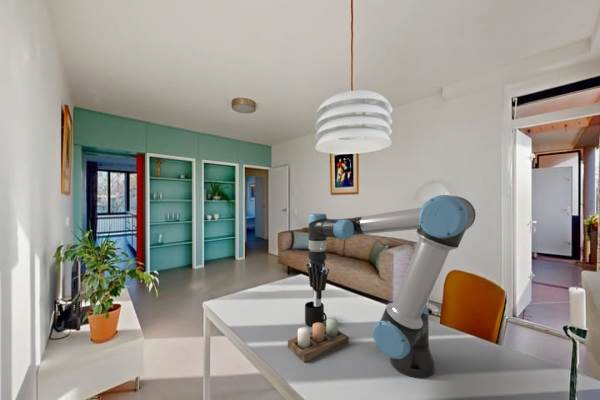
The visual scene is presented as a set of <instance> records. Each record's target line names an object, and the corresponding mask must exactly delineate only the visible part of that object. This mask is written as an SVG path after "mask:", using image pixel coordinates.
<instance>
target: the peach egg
mask: <svg viewBox="0 0 600 400" xmlns="http://www.w3.org/2000/svg"><path fill="white" fill-rule="evenodd" d="M324 327H325V323H324V324H323V323H314V324H313V327H312V332H313V341H314V342H315V343H317V344H318V343H321V342H324V340H325V332H324Z"/></svg>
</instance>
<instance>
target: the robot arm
mask: <svg viewBox="0 0 600 400" xmlns="http://www.w3.org/2000/svg"><path fill="white" fill-rule="evenodd" d="M475 221H476V209H475V207H474V206H473V204H472V203H471V202H470V201H469V200H468V199H466V198H464V197H461V196H457V195H450V194H442V195H441V194H440V195H437V196H434V197H432V198H430V199H428V200H426V202H425V203H424V204H422V206H421V207H417V208H416V207H415V208H410V209H402V210H398V211H397V210H396V211H391V212H382V213H378V214H376V213H375V214H369V215H365V216H355V217H348V218H338V219H335V218H327V214H326V213H320V212H319V213H317V212H316V213H315V212H314V213H309V216H308V223H307V224H308V260H309V263H306V267H307V272H308V282H309V287H310V288H312V291H313V294H312V295H313V301H314V306H315V307H318V306H321V303H322V294H323V293H322V291H323V292H324V291H326V288H327V287H326V286H327V280H328V275H329V273H330V269H329V268H327V267H326V260H327V238H331V239H332V238H333V239H339V240H350V239H351V238H352V236H361V235H370V234H380V233H382V234H383V233H392V232H400V231H401V232H403V231H412V230H416V234H417V236H418V241H417V244H416V246H415V249H414V251H413V253H412V256H411V259H410V262H409V264H408V266H407V268H406V271H405V273H404V276H403V277H402V280H401V283H400V286H399V288H398V290H397V292H396V296H395V297H394V299H393V302H389V303H387V305H386V306H385V309H384V312H383V313H382V317H381V318H380V320H379V321H377V322H376V323H375V325H374V326H373V328H372V337H373V340H374V341H375V345H376V347H377V348H378V349H379V350H380V351H381V353H383V354H384V355H385V356H386V357H389V363H390V364H391V366H392V367H393V368H394V370H396V371H398V372H399V373H401V374H403V375H405V376H408V377H412V378H419V379H423V378H424V379H425V378H428V377H431V376H432V375H434V373H435V361H434V358H433V355H432V352H431V349H430V345H429V344H430V339H429V338H430V336H429V331H430V330H429V326H430V325H429V323H430V322H429V316H430V314H429V308H428V306H427V303H428V300H429V298H430V296H431V295H432V294H431V293H432V291H433V289H434V287H435V284H436V282H437V280H438V278H439V276H440V273H441V271H442V269H443V267H444V264H445V262H446V260H447V258H448V255H449V253H450V251H452V250H455V249H458V248H459V245H460V243H461V241H462V240H463V237H464V235H465V232H466V231H467V230H469V228H471V227H472V226H473V225H474V222H475Z"/></svg>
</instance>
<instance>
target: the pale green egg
mask: <svg viewBox="0 0 600 400" xmlns="http://www.w3.org/2000/svg"><path fill="white" fill-rule="evenodd" d="M325 322H326V323H325V324H326V326H325V327H326V334H327V336H329V337H330V338H334V337H336V336H338V330H339V320H338V319H337V318H334V317H330V318H327V319H326V321H325Z"/></svg>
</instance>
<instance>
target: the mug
mask: <svg viewBox="0 0 600 400" xmlns="http://www.w3.org/2000/svg"><path fill="white" fill-rule="evenodd" d="M327 319H328V318H327V314H326V313H325V306H324V302H321V306H318V307H315V306H314V300H312V301H308V302H306V303H305V304H304V323H305V325H306V326H307V327H311V328H313V324H314V323H323V324H324V325H325V322H326V320H327Z"/></svg>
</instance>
